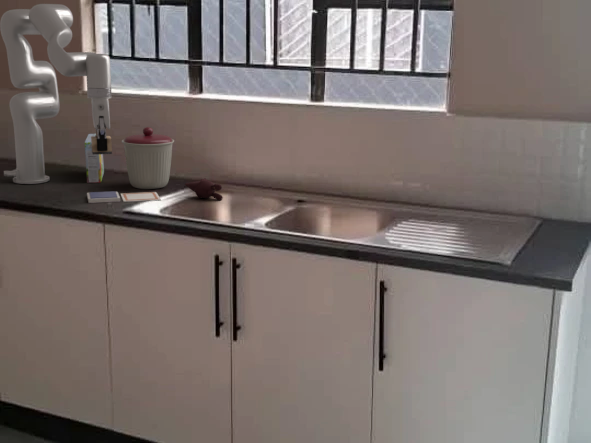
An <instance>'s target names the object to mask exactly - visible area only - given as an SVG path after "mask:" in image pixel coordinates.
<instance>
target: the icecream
mask: <svg viewBox="0 0 591 443" xmlns="http://www.w3.org/2000/svg"><path fill="white" fill-rule="evenodd" d="M184 185H185V186H186V188H189V189H190V190H191V191H192V192H193V193H195V195H196V196H197V198H198V199H205V200H207V199H209V198H211V197H212V198H214V199H215V200H218V201H221V200H223V198H224V197H223V195H221V194H220V193H218V192H219V191H221V190H222V189H223V188H222V184H220V183H215V184H214V183H213V182H212V181H210V180H209V179H207V178H201V179H200V180H196V181H191V182H186V183H185V184H184ZM215 191H216V192H215Z"/></svg>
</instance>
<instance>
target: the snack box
mask: <svg viewBox="0 0 591 443" xmlns="http://www.w3.org/2000/svg"><path fill="white" fill-rule="evenodd" d="M91 136H96V133H88V134H87V137H86V139H85V140H84V154H85V170H86V172H85V173H86V183H87V184H101V183H102V180H103V176H104V173H105V164H104V154H95V155H93V154H92V144H91Z"/></svg>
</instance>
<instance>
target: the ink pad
mask: <svg viewBox="0 0 591 443" xmlns="http://www.w3.org/2000/svg"><path fill="white" fill-rule="evenodd" d="M86 197H87V201H88V204H96V203H115V202H116V203H117V202H121V195H120V194H119V192H118V191H114V190H113V191H94V192H93V191H91V192H86Z"/></svg>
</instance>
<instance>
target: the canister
mask: <svg viewBox="0 0 591 443" xmlns="http://www.w3.org/2000/svg"><path fill="white" fill-rule="evenodd" d="M121 143H122V144H123V148H124V154H125V155H124V156H125V162H126V170H127V174H128V176H127V177H128V180H129V183H130V185H131V186H132V187H133V188H136V189H141V190H155V189H156V190H157V189H160V188H161V189H162V188H164V187H166V186H167V185H168V183H169V179H170V176H171V175H170V174H171V173H170V172H171V167H172V166H171V164H172V154H173V144H174V143H175V139H173V138H171V136H168V135H164V134H159V133H158V134H156V133H154V129H153V128H152V127H149V126H147V127H144V128H143V130H142V133H140V134H132V135H129V136H126V137H125V138H123V139H122V140H121Z"/></svg>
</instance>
